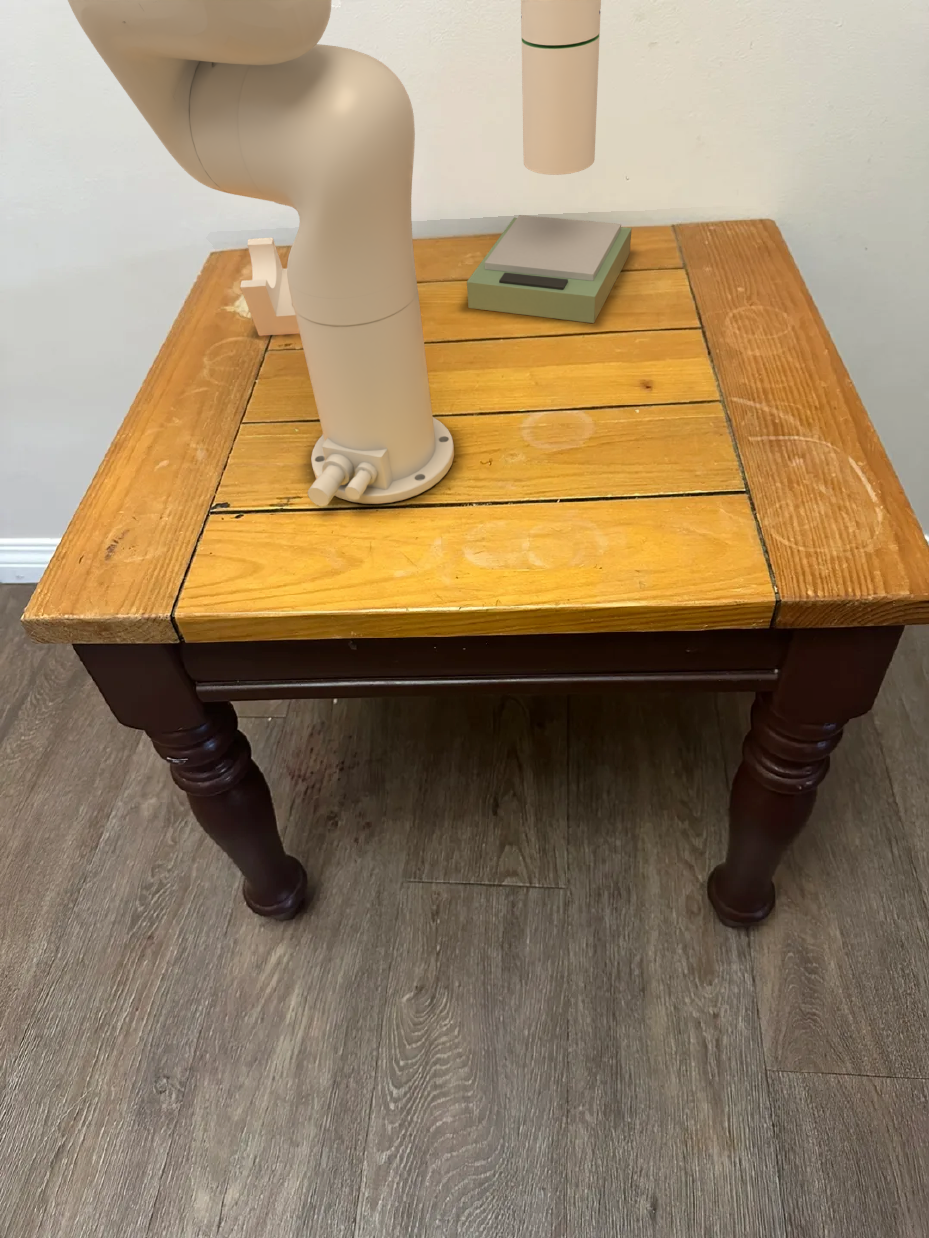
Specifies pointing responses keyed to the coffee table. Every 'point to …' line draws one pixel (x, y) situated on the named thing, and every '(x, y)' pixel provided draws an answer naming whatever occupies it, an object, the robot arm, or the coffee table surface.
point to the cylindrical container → (559, 84)
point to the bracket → (269, 291)
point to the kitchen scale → (551, 268)
